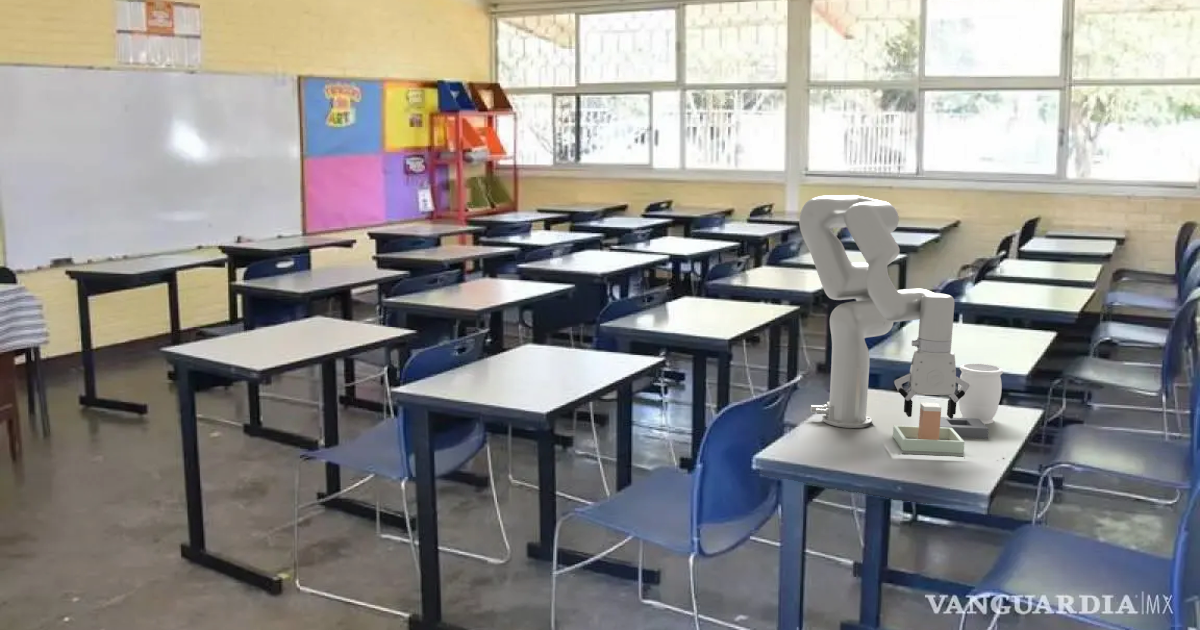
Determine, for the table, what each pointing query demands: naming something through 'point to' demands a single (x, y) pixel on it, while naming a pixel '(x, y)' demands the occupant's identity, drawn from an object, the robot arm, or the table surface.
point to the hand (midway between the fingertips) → (929, 416)
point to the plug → (929, 421)
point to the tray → (949, 445)
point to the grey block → (966, 427)
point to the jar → (980, 391)
